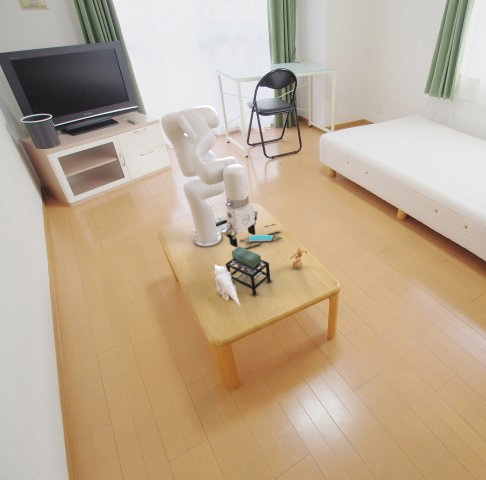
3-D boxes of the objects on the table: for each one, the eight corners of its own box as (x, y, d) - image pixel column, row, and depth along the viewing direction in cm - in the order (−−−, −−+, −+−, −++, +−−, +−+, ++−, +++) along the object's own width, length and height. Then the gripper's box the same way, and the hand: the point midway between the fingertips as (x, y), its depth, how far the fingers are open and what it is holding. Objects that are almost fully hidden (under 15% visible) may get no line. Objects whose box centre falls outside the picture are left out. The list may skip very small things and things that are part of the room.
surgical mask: (277, 222, 170) (284, 232, 163) (277, 230, 173) (284, 239, 165) (237, 232, 162) (242, 243, 155) (238, 240, 165) (244, 250, 158)
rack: (229, 282, 140) (225, 263, 134) (245, 269, 147) (242, 251, 141) (254, 295, 134) (252, 276, 128) (270, 281, 141) (268, 262, 135)
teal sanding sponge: (261, 265, 134) (260, 255, 131) (253, 271, 130) (252, 261, 128) (241, 255, 138) (239, 246, 135) (233, 261, 135) (231, 251, 132)
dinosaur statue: (226, 276, 143) (222, 255, 136) (250, 311, 127) (247, 290, 120) (210, 282, 140) (205, 261, 133) (233, 319, 124) (228, 297, 117)
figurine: (303, 262, 151) (302, 240, 144) (310, 269, 147) (310, 247, 140) (286, 268, 148) (285, 246, 141) (293, 276, 144) (292, 253, 137)
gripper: (227, 214, 111) (234, 254, 121) (262, 193, 122) (265, 232, 133) (211, 207, 114) (219, 247, 124) (246, 188, 126) (251, 226, 136)
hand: (243, 239), depth 128 cm, fingers open, 9 cm apart
